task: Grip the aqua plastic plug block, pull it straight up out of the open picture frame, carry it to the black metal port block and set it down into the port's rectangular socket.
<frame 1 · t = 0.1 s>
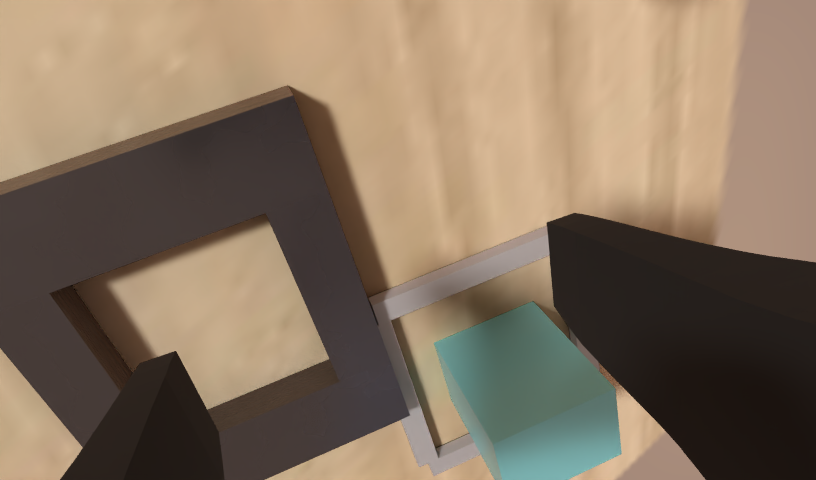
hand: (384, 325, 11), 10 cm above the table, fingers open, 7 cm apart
plug: (491, 351, 26), resting in open picture frame
port block: (212, 319, 21), on the table
open picture frame: (491, 352, 25), on the table
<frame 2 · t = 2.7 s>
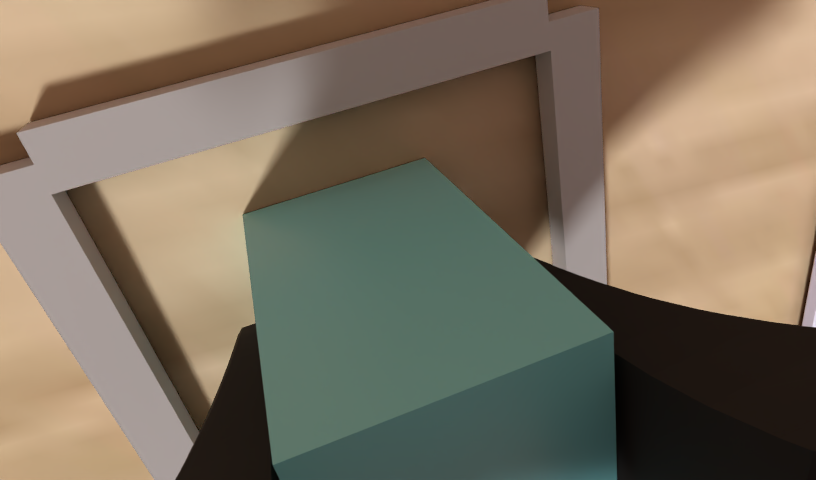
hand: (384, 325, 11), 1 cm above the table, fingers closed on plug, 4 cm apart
plug: (366, 288, 12), resting in open picture frame, touching gripper
open picture frame: (366, 288, 12), on the table
when the fingers open (2 cm above the table, at t = 7.5 s): plug stays where it is, resting in port block.
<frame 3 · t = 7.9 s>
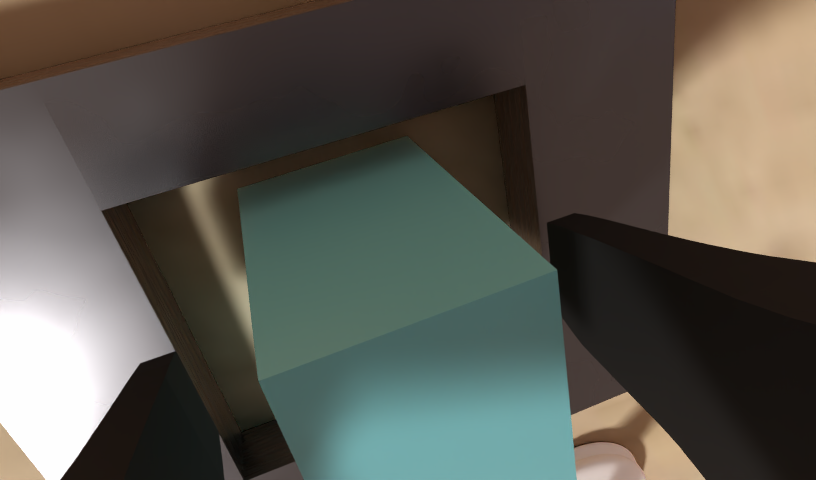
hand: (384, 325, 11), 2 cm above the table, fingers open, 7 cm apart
plug: (353, 259, 13), resting in port block
port block: (356, 266, 13), on the table
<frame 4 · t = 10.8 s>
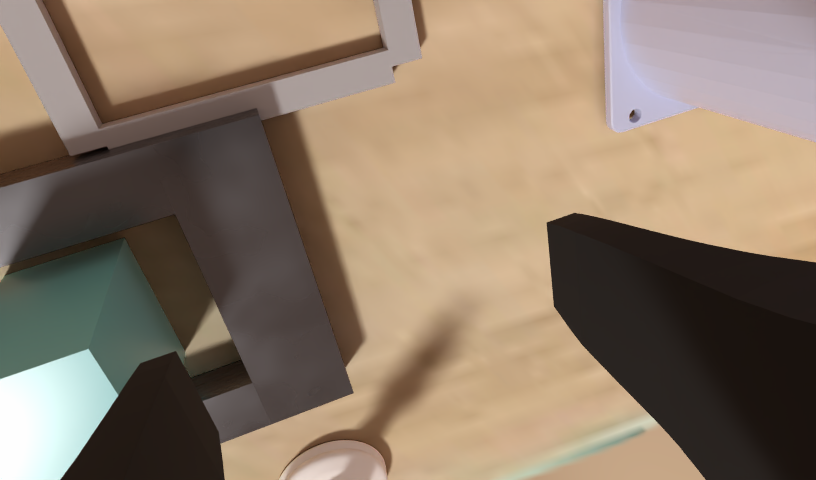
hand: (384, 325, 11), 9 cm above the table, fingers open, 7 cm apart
chess piece: (331, 478, 25), on the table
plug: (102, 316, 19), resting in port block
port block: (103, 320, 19), on the table
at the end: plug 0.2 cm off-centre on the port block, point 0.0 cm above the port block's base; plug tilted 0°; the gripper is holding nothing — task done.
